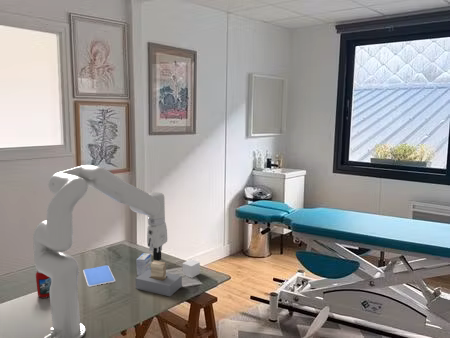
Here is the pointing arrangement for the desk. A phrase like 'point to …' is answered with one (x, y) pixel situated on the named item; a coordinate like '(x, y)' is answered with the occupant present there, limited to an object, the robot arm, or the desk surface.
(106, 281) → the tablet computer
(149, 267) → the medicine box
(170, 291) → the grey slotted block
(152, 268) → the wooden block
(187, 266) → the white cube
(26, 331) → the desk surface
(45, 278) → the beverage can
